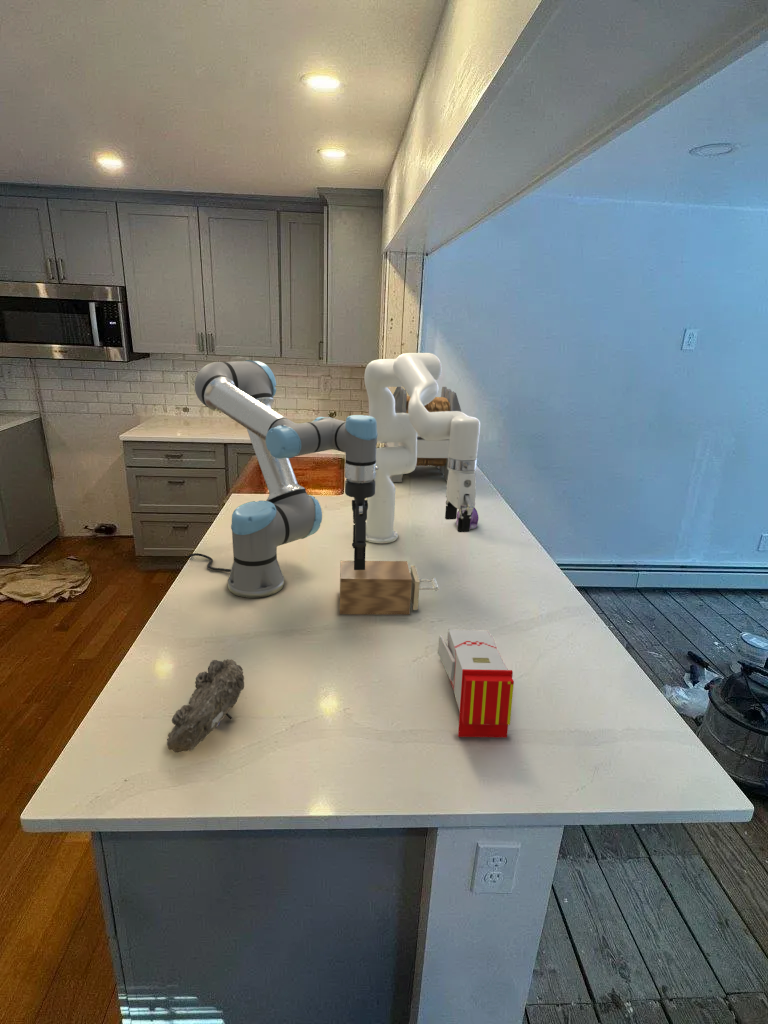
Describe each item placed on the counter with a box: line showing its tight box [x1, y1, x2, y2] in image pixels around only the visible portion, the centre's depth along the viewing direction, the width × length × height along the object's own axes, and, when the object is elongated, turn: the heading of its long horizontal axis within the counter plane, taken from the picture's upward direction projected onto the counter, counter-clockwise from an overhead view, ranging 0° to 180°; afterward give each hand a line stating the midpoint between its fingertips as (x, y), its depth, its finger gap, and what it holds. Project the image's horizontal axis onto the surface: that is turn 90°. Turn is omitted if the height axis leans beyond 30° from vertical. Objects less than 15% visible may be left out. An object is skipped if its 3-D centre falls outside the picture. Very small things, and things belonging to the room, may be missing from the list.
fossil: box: [166, 658, 245, 754], centre depth 106 cm, size 22×10×15 cm
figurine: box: [455, 505, 480, 530], centre depth 207 cm, size 9×10×15 cm
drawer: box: [409, 565, 440, 611], centre depth 151 cm, size 22×10×8 cm, turn 94°
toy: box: [437, 628, 515, 738], centre depth 117 cm, size 12×13×30 cm
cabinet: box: [339, 560, 412, 615], centre depth 150 cm, size 18×11×10 cm, turn 94°
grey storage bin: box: [383, 386, 462, 483], centre depth 268 cm, size 34×33×41 cm
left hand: (358, 558), depth 147 cm, fingers open, 13 cm apart
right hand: (456, 525), depth 154 cm, fingers open, 9 cm apart
